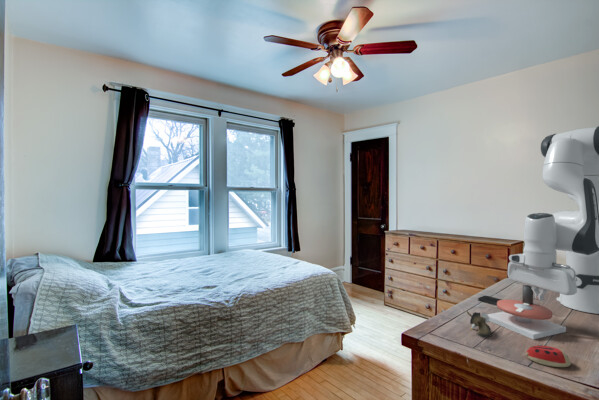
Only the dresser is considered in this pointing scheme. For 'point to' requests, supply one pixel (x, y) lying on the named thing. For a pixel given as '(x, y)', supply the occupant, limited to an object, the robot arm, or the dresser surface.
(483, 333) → the eagle figurine
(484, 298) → the phone
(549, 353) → the ladybug figurine
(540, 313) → the handwheel
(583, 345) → the dresser surface
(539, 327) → the square base plate
